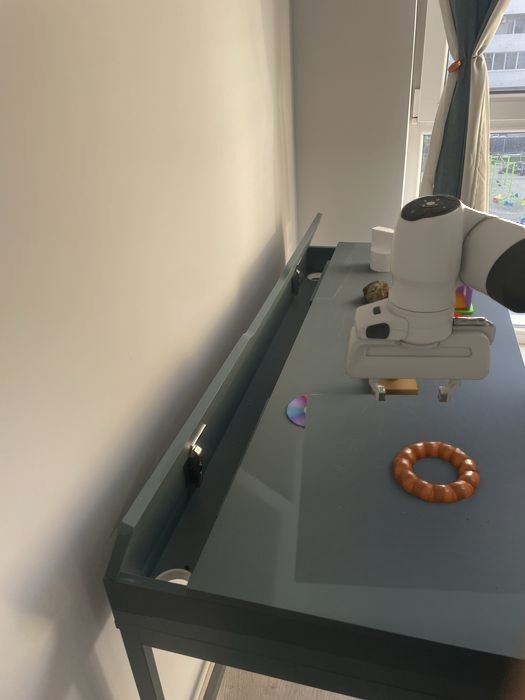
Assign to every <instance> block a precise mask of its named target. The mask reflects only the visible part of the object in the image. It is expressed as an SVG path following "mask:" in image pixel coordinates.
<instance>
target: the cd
mask: <svg viewBox="0 0 525 700" xmlns="http://www.w3.org/2000/svg"><path fill="white" fill-rule="evenodd" d="M310 395H311V396H312V395H313V396H314V395H318V396H319V395H320V396H321V395H323V394H322V393H321V394H320V393H319V394H318V393H310ZM307 403H308V394H304V395H300V396H298V397H296V398H295V399H294V398H293V400H292V401H291V402H290V403H289V404H287V408H286V415H287V418H288V419H289V420H290V421H291V422H293V423H294V424H295V425H298V426H301V427H304V428H305V427H306V419H307Z"/></svg>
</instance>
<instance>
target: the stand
mask: <svg viewBox="0 0 525 700" xmlns="http://www.w3.org/2000/svg"><path fill="white" fill-rule="evenodd" d="M378 385H379V386H385V392H386V393H385V396H418V395H419V388H418V384H417V379H379V381H378ZM370 388H371V389H370V390H371V395H372V396H375V392H374V390H373V389H372V387H371V386H370Z"/></svg>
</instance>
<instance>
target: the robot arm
mask: <svg viewBox="0 0 525 700" xmlns="http://www.w3.org/2000/svg"><path fill="white" fill-rule="evenodd" d="M390 270H391V272H390V274H391V286H390V287H391V288H390V290H389V294H388V298H386V299H383V300H380V301H377V302H374V303H370V304H369V303H366V304H363V305H360V306H358V307H357V308H356V309H355V313H354V325H353V326H352V327H351V329H350V330H349V333H348V336H347V339H346V340H347V341H346V346H345V354H344V373H345V374H346V375H347V376H348V377H349V378H350V379H368V384H369V386H370V388H371V387H372V389H373V390H374V392H375V395H374V402H385V401H386V395H385V393H386V392H385V386H379V385H378V381H379V379H416V380H449V381H447V383H446V384H445V385H444V386H438V392H437V399H438V402H439V403H450V402H451V397H452V394H453V393H454V392H455V391H456V390H457V389H458V388H459V387H460V386H461V384H462V381H463V380H465V381H482V380H484V379H485V378H486V377H488V375H489V374H490V369H491V368H490V367H491V345H492V344H493V342H494V341H495V339H496V334H497V327H496V325H495V323H494V322H492V321H491V320H488V319H487V318H486V317H482V316H478V317H477V316H476V317H470V318H466V317H454V310H455V303H456V294H455V292H456V289H457V288H458V287H461V286H465V285H466V286H468V287H470V288H473V290H475V291H477V292H479V293H481V294H482V295H483V294H484V295H485V296H487V297H489V298H490V299H492V300H493V301H494V302H496V303H498V304H499V305H501V306H502V307H504V308H506V309H507V310H509V311H511V312H512V313H515V314H525V225H524V224H520V223H517V222H515V221H511V220H508V219H505V218H503V217H500V216H497V215H494V214H490V213H487V212H484V211H479V210H476V209H473V208H471V207H469V206H467V205H465V204H464V203H462V201H461V199H459V198H458V197H456V196H453V195H450V194H430V195H424V196H420V197H416V198H415V199H413V200H410V201H409V202H407V203H406V204H405V205H404V206H403V207H402V208H401V209H400V211H399V213H398V216H397V218H396V222H395V226H394V234H393V240H392V248H391V261H390Z"/></svg>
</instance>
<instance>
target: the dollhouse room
mask: <svg viewBox="0 0 525 700" xmlns="http://www.w3.org/2000/svg"><path fill="white" fill-rule="evenodd" d="M473 293H474V289H473V288H470V287H468V286H466V285H465V286H461V287H458V288H457V289H456V292H455V294H456V303H455V310H454V312H457V313H459V314H462V315H470V314H474V312H475V310H474V306H473V303H472V298H473Z"/></svg>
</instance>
